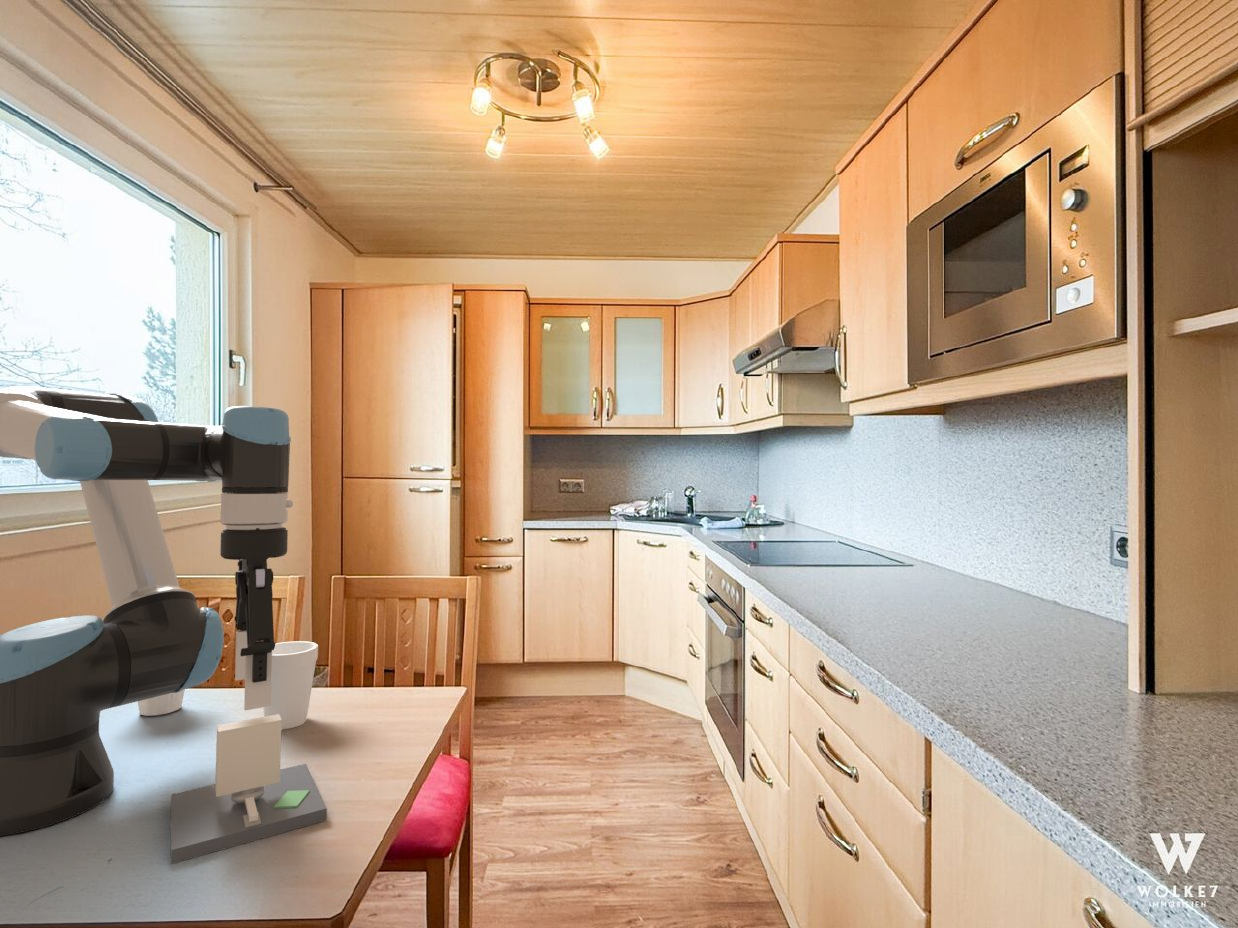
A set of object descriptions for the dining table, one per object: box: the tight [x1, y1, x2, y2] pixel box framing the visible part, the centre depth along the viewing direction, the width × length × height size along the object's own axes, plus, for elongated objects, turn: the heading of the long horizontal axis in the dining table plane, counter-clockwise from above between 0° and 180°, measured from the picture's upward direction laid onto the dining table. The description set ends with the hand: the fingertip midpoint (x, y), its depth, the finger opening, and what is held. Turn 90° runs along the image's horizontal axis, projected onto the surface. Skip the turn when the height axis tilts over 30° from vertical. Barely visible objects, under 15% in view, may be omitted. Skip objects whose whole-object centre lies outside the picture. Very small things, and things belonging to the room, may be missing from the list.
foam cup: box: [262, 640, 319, 731], centre depth 111 cm, size 10×9×13 cm
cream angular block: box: [214, 714, 282, 822], centre depth 79 cm, size 7×9×10 cm
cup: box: [137, 689, 186, 717], centre depth 115 cm, size 10×10×13 cm
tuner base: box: [170, 763, 328, 864], centre depth 81 cm, size 16×15×2 cm
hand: (251, 692), depth 81 cm, fingers open, 13 cm apart
